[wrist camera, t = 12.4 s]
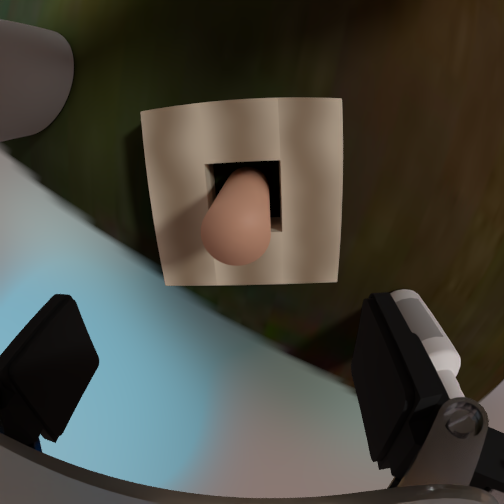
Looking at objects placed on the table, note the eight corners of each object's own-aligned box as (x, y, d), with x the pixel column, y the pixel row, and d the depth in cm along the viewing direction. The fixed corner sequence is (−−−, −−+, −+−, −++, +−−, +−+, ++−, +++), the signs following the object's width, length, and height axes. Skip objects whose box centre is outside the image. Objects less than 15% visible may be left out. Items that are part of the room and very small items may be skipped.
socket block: (331, 101, 25) (341, 98, 21) (329, 262, 31) (337, 281, 28) (156, 111, 26) (140, 111, 22) (176, 266, 32) (165, 285, 29)
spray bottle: (388, 281, 32) (459, 406, 15) (430, 295, 32) (504, 405, 16) (360, 328, 35) (403, 457, 18) (403, 338, 35) (454, 452, 19)
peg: (268, 165, 28) (269, 198, 17) (269, 207, 29) (271, 264, 18) (224, 167, 28) (196, 201, 17) (227, 209, 29) (204, 266, 18)
